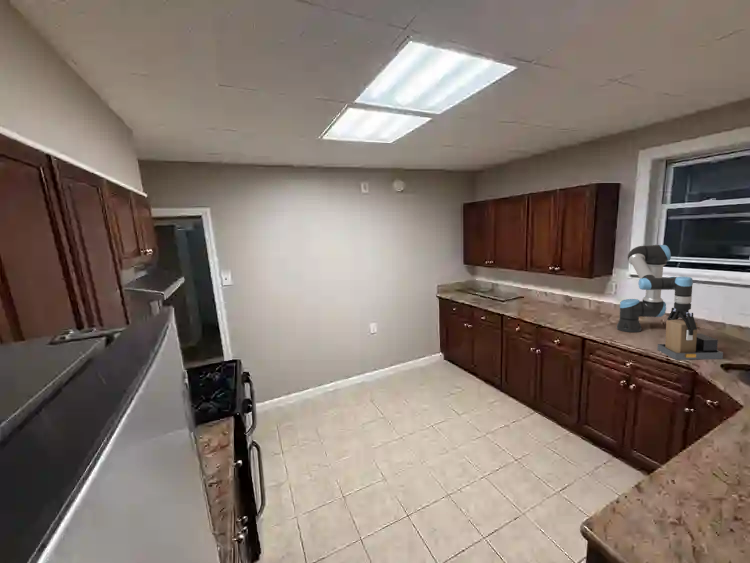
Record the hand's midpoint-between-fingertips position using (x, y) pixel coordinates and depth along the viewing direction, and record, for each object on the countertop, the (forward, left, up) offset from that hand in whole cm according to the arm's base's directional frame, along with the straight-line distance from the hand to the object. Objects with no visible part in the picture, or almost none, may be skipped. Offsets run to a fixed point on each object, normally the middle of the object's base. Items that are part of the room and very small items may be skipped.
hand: (680, 336), depth 200 cm
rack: (0, +4, -12) cm, 12 cm away
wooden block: (0, 0, -11) cm, 11 cm away
